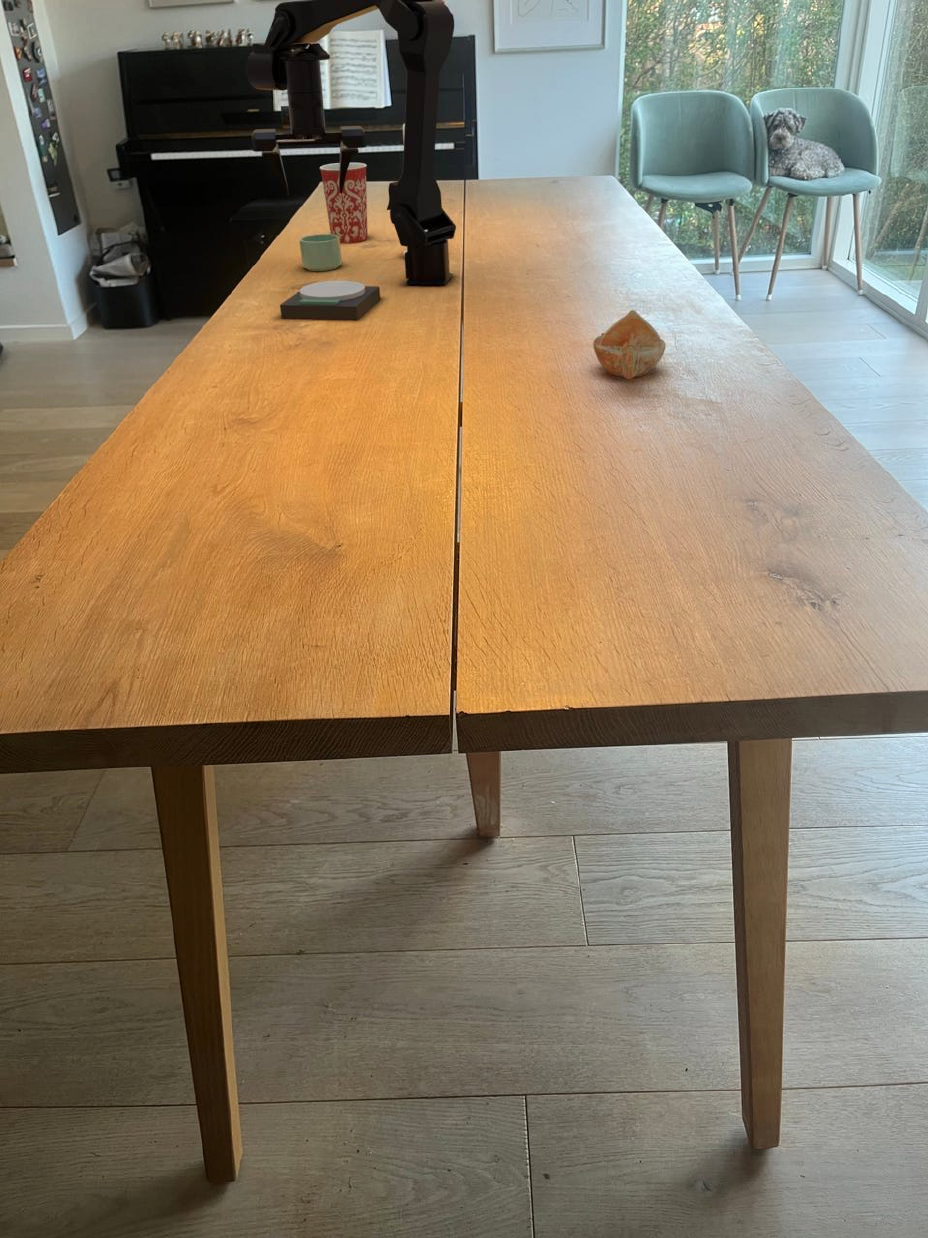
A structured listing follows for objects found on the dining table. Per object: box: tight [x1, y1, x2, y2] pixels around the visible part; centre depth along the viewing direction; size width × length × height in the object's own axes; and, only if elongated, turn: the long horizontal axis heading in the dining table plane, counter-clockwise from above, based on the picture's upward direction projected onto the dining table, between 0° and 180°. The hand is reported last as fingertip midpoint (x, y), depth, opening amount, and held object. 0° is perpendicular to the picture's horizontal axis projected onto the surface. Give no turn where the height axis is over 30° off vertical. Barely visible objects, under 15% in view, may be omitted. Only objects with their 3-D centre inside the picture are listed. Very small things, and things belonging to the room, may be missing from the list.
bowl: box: [298, 233, 343, 272], centre depth 175 cm, size 7×7×5 cm
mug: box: [319, 162, 369, 244], centre depth 195 cm, size 13×9×14 cm
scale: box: [279, 280, 381, 321], centre depth 151 cm, size 12×12×3 cm
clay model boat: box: [592, 309, 667, 380], centre depth 119 cm, size 9×21×10 cm, turn 173°
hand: (314, 193), depth 170 cm, fingers open, 9 cm apart
